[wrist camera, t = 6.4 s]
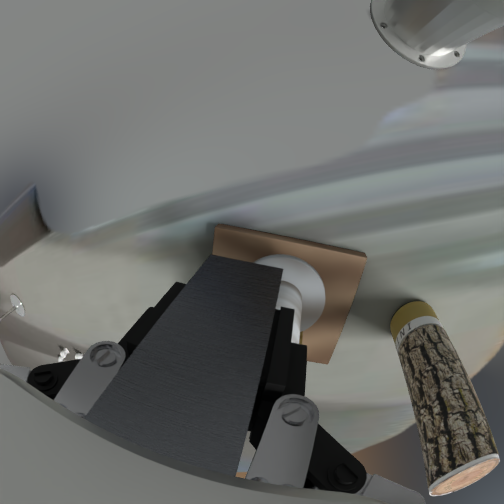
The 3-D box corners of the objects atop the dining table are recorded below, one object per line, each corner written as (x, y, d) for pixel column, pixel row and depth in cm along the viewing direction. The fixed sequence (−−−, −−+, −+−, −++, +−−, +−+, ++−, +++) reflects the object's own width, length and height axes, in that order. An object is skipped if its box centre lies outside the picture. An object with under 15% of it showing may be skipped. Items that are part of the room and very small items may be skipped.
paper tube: (434, 294, 33) (512, 447, 10) (429, 333, 35) (482, 480, 12) (389, 303, 34) (441, 476, 12) (388, 342, 37) (420, 501, 14)
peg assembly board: (219, 219, 35) (159, 277, 20) (366, 249, 32) (399, 327, 18) (209, 333, 42) (169, 412, 27) (327, 358, 40) (327, 446, 25)
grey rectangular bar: (210, 254, 13) (38, 483, 3) (283, 268, 12) (209, 563, 2) (206, 326, 14) (100, 525, 4) (268, 340, 14) (208, 566, 4)
